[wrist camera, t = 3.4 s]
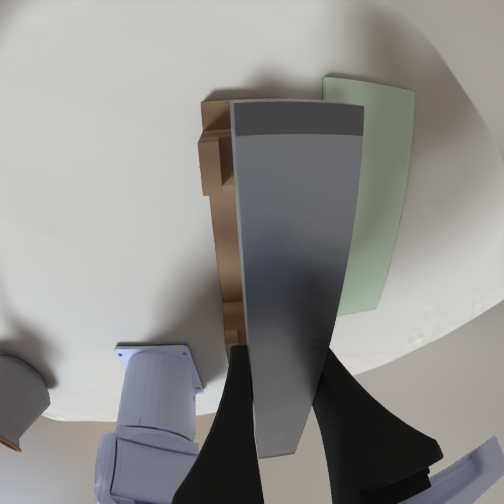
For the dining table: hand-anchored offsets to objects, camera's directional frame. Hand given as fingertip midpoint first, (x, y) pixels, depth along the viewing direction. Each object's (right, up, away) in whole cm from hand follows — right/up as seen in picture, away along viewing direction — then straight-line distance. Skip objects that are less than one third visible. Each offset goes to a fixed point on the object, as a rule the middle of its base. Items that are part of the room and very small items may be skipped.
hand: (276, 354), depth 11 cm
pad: (+7, +7, +9) cm, 13 cm away
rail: (0, 0, 0) cm, 0 cm away
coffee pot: (-36, -9, +14) cm, 40 cm away
